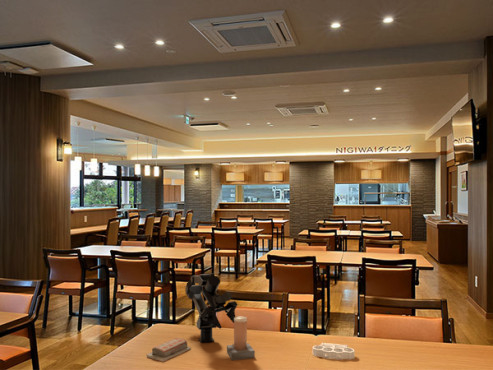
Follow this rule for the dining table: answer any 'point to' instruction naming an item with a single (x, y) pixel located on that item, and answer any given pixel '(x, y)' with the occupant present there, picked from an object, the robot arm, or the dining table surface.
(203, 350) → the dining table surface
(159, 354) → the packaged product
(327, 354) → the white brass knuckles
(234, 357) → the riser block
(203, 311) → the robot arm
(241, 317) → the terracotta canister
